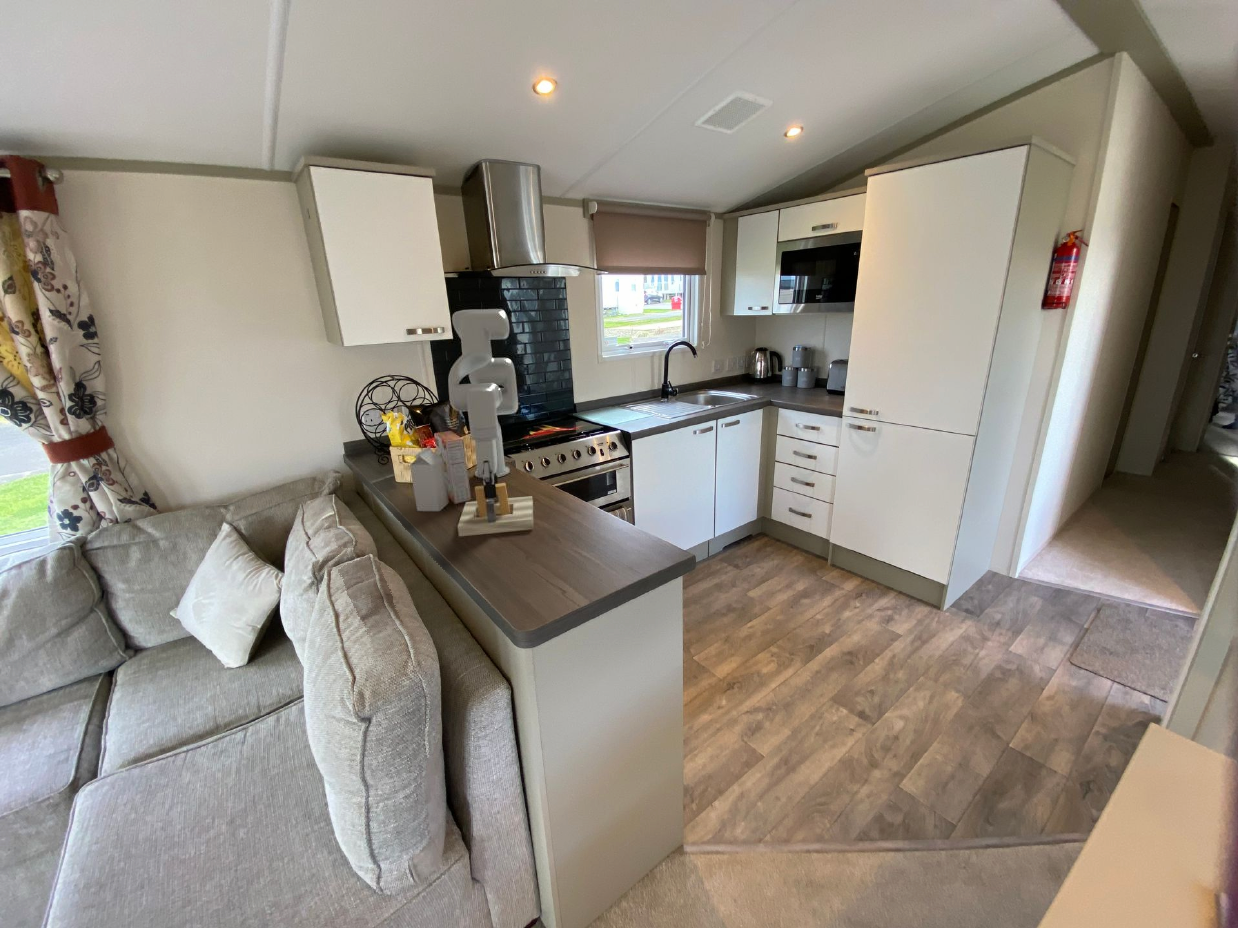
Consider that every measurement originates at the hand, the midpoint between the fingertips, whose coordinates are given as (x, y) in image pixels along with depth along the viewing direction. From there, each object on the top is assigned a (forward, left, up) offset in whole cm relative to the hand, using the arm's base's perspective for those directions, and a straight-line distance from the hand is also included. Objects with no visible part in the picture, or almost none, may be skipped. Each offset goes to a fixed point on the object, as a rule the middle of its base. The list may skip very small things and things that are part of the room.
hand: (491, 492), depth 142 cm
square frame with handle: (0, 0, -9) cm, 9 cm away
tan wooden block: (0, 0, -7) cm, 7 cm away
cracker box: (-23, -14, -9) cm, 28 cm away
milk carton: (-15, -20, -9) cm, 27 cm away
